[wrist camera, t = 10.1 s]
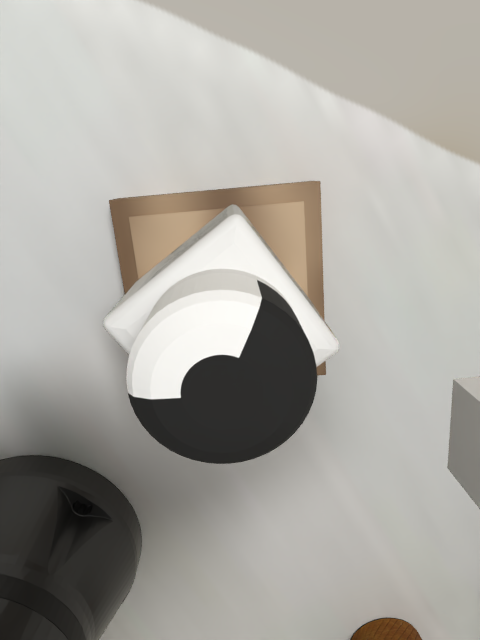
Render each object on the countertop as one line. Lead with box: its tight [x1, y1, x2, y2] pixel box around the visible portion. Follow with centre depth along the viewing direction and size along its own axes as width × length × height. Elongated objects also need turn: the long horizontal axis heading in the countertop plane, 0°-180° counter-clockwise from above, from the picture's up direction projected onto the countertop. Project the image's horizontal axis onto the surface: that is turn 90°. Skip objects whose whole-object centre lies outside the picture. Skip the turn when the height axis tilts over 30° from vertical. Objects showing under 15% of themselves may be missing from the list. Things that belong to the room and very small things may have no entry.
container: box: [103, 204, 339, 464], centre depth 21 cm, size 8×8×13 cm
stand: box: [109, 181, 326, 375], centre depth 28 cm, size 12×12×3 cm
